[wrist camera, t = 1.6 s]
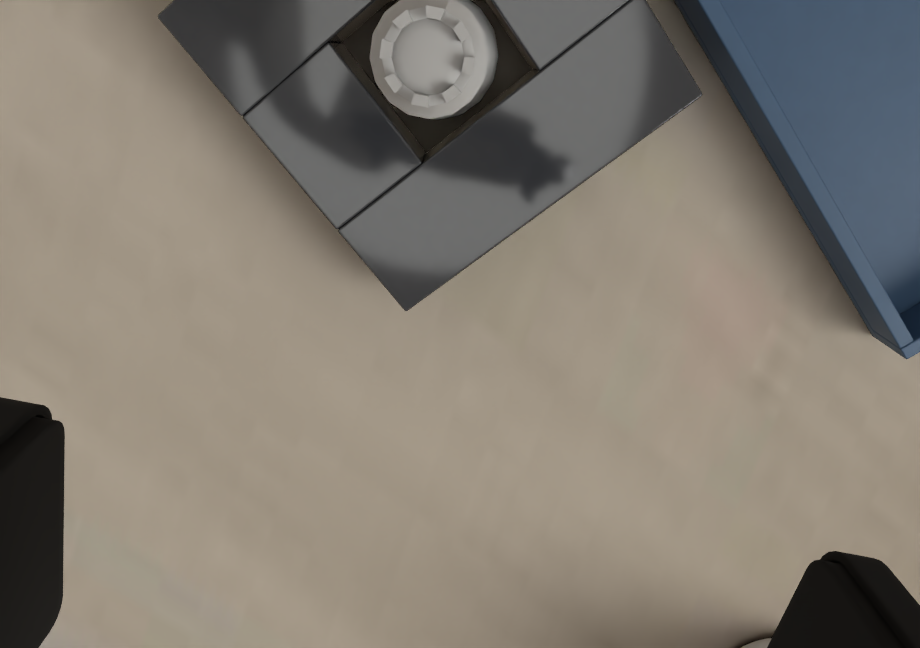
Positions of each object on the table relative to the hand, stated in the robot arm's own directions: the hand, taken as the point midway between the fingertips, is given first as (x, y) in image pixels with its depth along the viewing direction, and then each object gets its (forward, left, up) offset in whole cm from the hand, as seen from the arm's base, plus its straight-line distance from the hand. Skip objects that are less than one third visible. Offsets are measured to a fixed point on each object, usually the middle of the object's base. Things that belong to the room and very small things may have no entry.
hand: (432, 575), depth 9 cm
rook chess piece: (-5, +3, -21) cm, 22 cm away
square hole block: (-5, +3, -21) cm, 22 cm away
